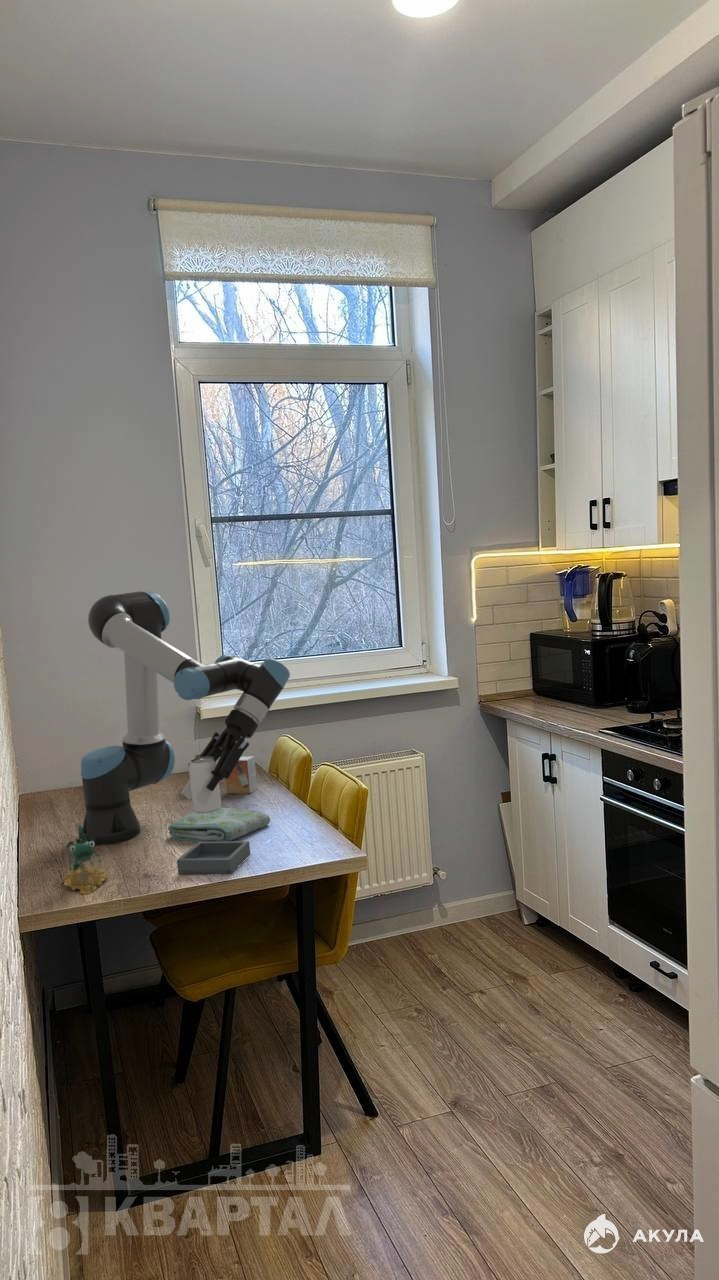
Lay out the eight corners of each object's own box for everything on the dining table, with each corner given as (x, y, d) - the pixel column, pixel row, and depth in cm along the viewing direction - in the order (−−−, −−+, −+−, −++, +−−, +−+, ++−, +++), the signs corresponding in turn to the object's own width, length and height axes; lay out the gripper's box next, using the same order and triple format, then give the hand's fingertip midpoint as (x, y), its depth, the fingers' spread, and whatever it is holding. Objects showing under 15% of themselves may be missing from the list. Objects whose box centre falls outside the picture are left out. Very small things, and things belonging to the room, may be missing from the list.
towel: (211, 819, 258) (209, 802, 258) (272, 826, 247) (270, 807, 247) (165, 840, 243) (163, 821, 243) (227, 848, 232) (225, 828, 231)
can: (225, 805, 220) (220, 755, 219) (215, 813, 213) (209, 762, 212) (200, 805, 221) (194, 756, 220) (189, 813, 215) (183, 763, 214)
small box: (226, 794, 284) (223, 760, 283) (234, 789, 289) (230, 756, 288) (250, 794, 282) (247, 760, 281) (257, 788, 287) (254, 755, 286)
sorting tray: (178, 874, 214) (176, 860, 213) (200, 855, 226) (198, 841, 226) (231, 874, 211) (229, 859, 210) (250, 855, 223) (249, 841, 223)
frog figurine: (105, 866, 225) (100, 809, 222) (110, 899, 208) (104, 837, 205) (64, 873, 222) (58, 815, 219) (65, 907, 205) (58, 844, 202)
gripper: (277, 729, 217) (223, 814, 209) (236, 722, 233) (185, 800, 224) (255, 711, 213) (199, 796, 205) (215, 704, 229) (162, 784, 221)
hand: (192, 798), depth 215 cm, fingers closed on can, 6 cm apart
